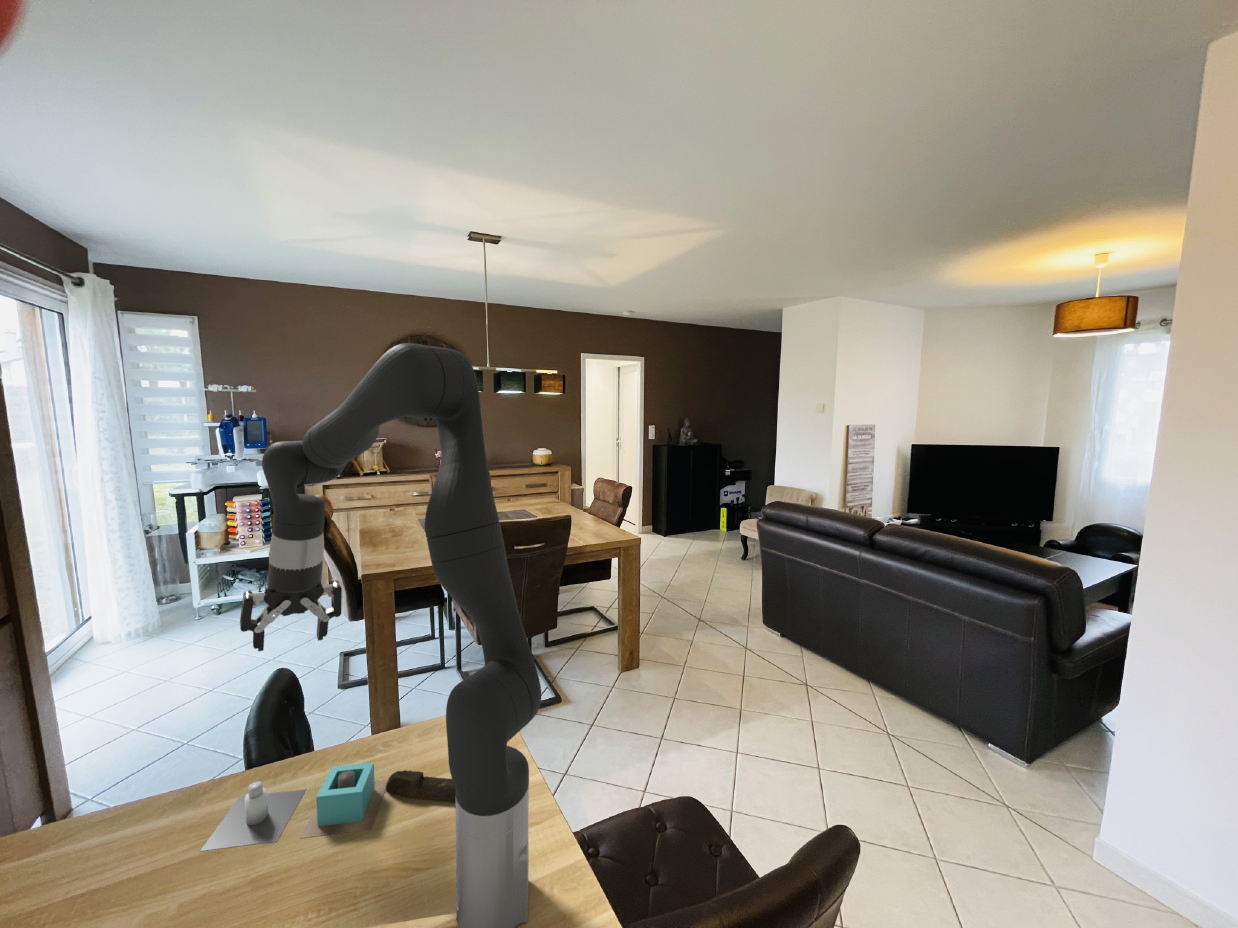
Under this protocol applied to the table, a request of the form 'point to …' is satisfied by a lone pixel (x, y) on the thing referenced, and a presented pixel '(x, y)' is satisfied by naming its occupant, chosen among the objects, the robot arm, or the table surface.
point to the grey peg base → (255, 818)
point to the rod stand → (314, 830)
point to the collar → (345, 795)
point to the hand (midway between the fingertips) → (291, 642)
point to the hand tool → (421, 786)
